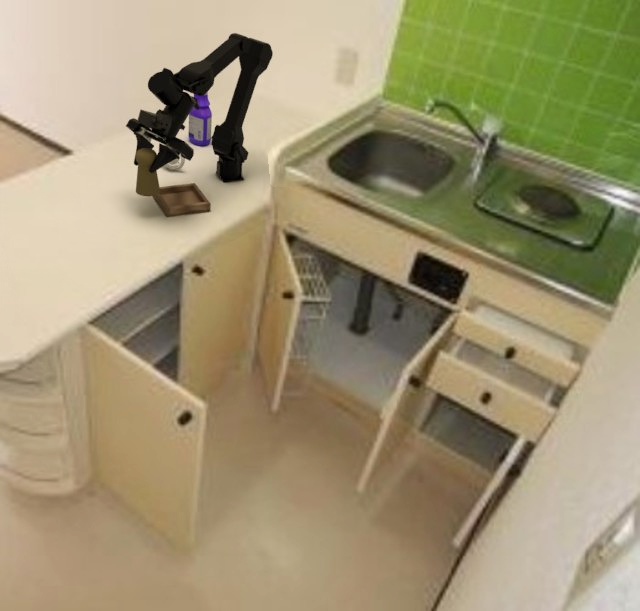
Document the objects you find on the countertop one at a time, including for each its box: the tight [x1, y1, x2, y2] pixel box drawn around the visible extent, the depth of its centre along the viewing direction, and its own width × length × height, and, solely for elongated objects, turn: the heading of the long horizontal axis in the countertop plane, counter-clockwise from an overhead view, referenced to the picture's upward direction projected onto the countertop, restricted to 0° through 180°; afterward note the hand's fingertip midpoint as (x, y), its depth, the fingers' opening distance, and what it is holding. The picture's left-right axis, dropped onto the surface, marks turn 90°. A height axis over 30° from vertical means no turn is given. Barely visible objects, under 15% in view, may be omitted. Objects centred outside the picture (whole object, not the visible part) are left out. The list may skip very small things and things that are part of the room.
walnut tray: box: [151, 182, 211, 218], centre depth 172 cm, size 12×12×2 cm
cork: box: [134, 148, 161, 198], centre depth 160 cm, size 6×6×11 cm
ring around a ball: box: [163, 153, 186, 171], centre depth 187 cm, size 8×6×8 cm
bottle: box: [188, 91, 213, 147], centre depth 201 cm, size 7×6×17 cm
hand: (142, 168), depth 158 cm, fingers closed on cork, 5 cm apart
